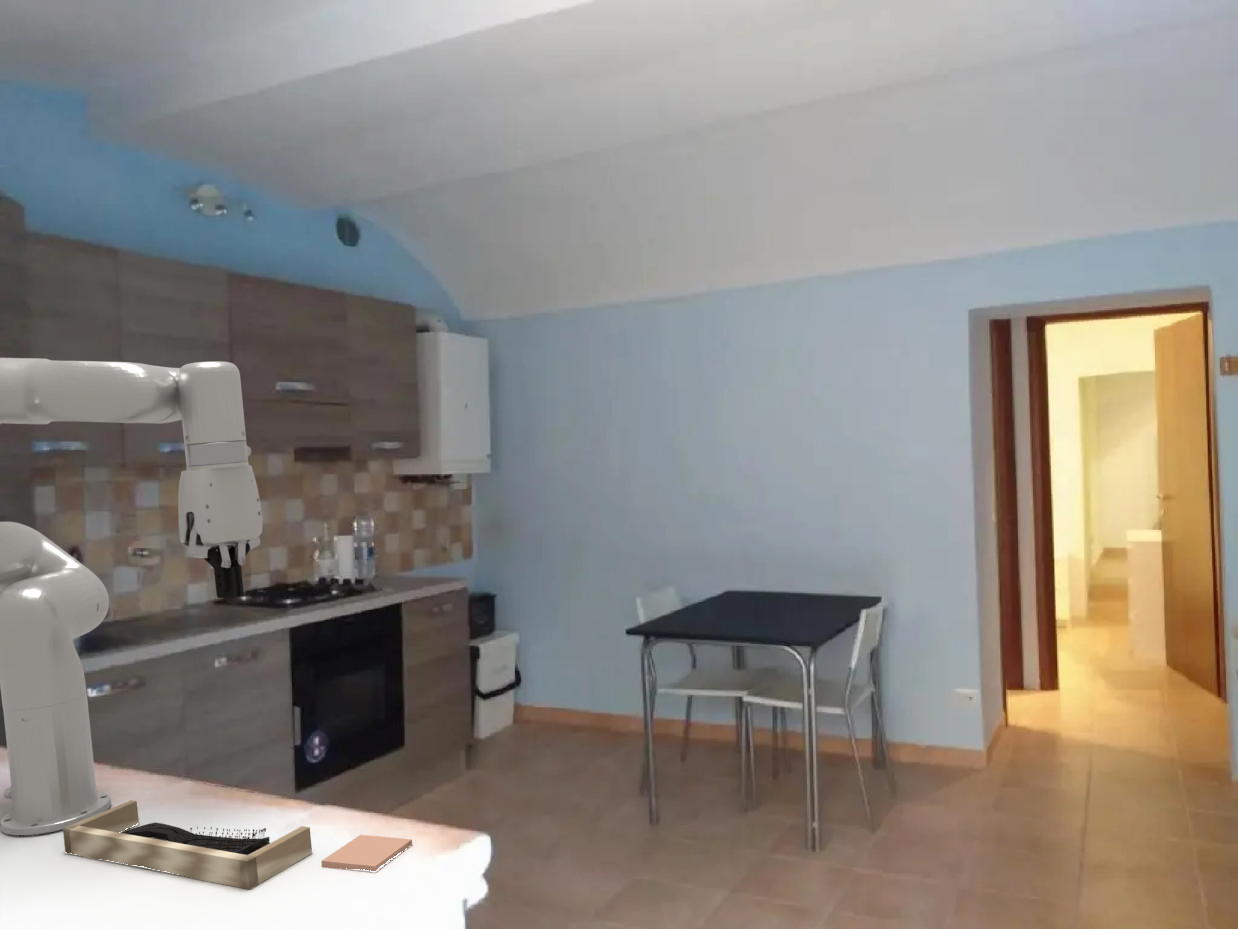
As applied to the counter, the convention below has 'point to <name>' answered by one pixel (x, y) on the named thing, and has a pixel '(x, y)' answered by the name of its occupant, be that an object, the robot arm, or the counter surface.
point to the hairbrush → (201, 838)
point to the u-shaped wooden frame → (181, 850)
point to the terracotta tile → (366, 852)
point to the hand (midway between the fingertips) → (230, 596)
